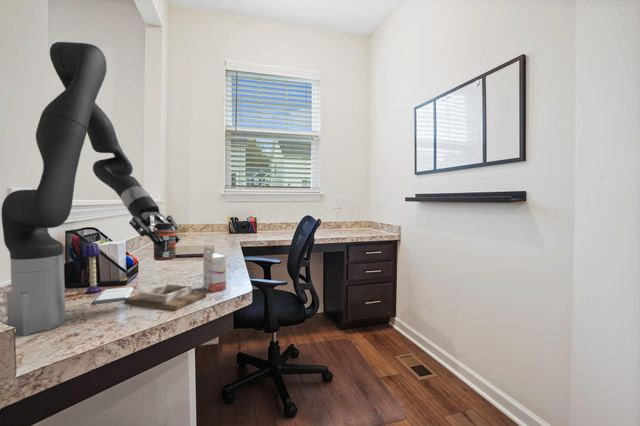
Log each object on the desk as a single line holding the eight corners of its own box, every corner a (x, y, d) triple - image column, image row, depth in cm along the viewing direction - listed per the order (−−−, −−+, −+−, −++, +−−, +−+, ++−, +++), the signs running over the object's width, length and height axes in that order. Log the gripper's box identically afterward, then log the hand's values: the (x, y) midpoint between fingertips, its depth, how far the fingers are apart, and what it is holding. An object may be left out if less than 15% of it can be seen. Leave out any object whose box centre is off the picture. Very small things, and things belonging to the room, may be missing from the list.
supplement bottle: (171, 261, 87) (171, 223, 87) (150, 261, 86) (149, 223, 86) (178, 257, 93) (177, 222, 93) (158, 257, 92) (157, 222, 92)
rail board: (176, 310, 81) (176, 299, 81) (124, 302, 88) (124, 292, 88) (206, 297, 92) (206, 287, 92) (158, 291, 99) (158, 281, 99)
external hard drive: (93, 306, 87) (104, 294, 98) (126, 302, 90) (133, 291, 101) (93, 300, 86) (104, 289, 98) (126, 297, 90) (133, 286, 101)
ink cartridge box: (226, 289, 101) (226, 247, 100) (212, 292, 97) (212, 248, 97) (216, 284, 107) (216, 244, 107) (203, 287, 104) (202, 246, 103)
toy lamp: (101, 293, 97) (99, 243, 97) (83, 295, 95) (81, 244, 94) (101, 289, 101) (100, 241, 101) (84, 291, 99) (83, 242, 98)
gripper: (124, 194, 85) (155, 236, 81) (165, 196, 98) (193, 232, 95) (111, 212, 87) (141, 254, 83) (153, 211, 100) (180, 247, 97)
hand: (169, 242), depth 89 cm, fingers closed on supplement bottle, 6 cm apart
